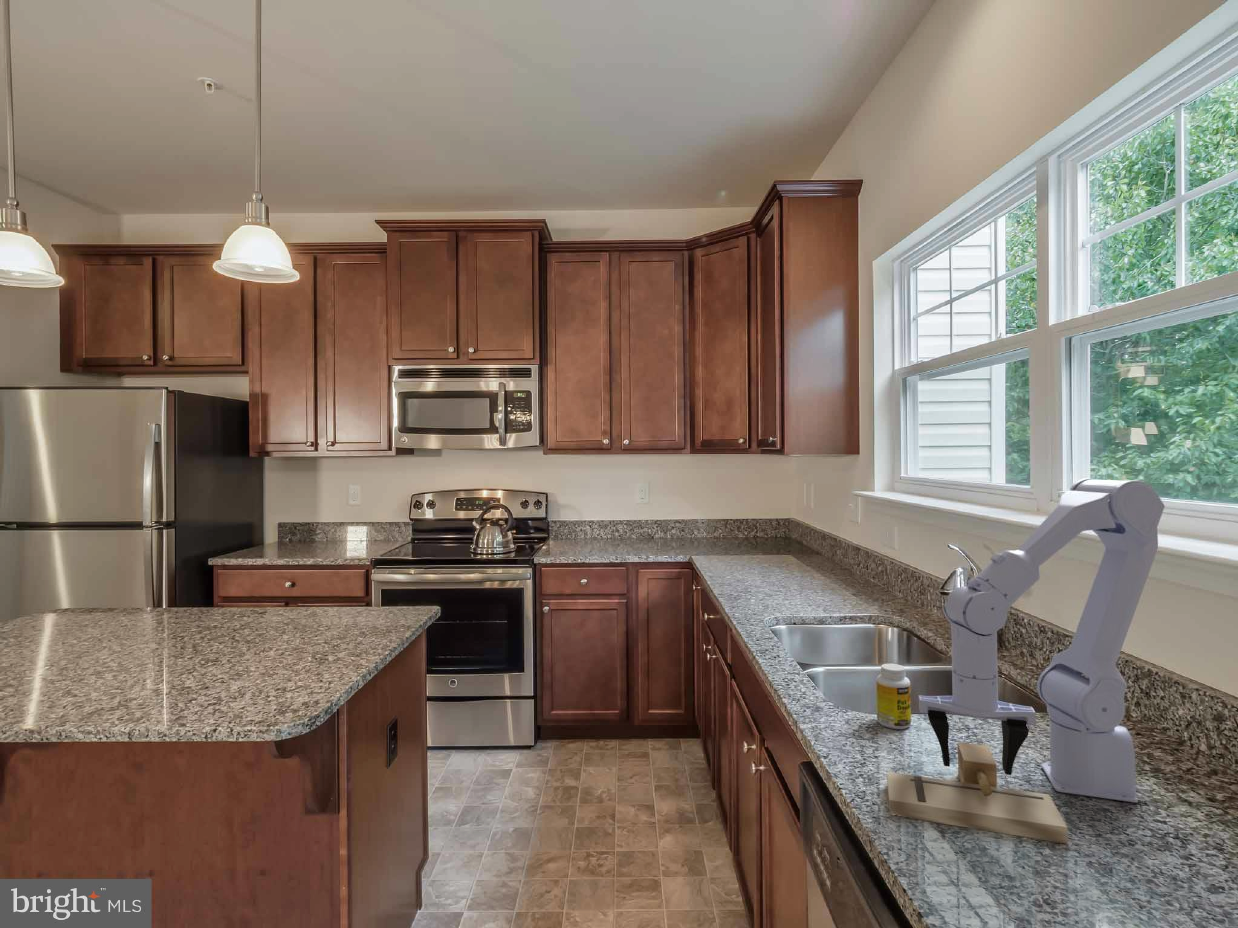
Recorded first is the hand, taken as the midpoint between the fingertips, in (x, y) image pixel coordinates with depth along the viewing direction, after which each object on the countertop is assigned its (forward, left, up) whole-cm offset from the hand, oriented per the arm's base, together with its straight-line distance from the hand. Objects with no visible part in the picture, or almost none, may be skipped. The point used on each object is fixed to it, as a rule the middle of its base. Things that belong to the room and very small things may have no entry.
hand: (976, 767), depth 91 cm
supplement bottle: (+10, -20, -3) cm, 22 cm away
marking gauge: (0, +2, -3) cm, 4 cm away
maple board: (+2, +7, -3) cm, 8 cm away
